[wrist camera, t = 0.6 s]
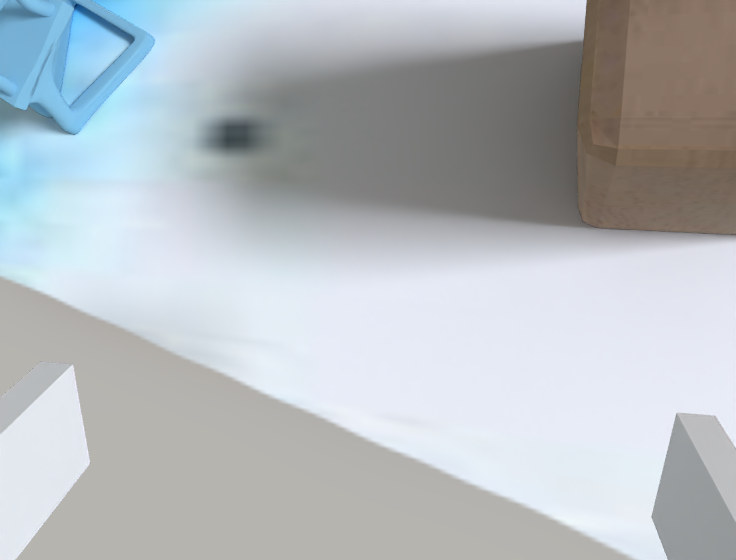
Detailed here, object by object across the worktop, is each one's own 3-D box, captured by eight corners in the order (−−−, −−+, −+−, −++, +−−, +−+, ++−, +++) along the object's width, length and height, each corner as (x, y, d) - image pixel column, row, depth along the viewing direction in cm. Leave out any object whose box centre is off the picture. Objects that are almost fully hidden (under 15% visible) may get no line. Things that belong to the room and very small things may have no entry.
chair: (21, 100, 46) (-162, 38, 35) (73, -11, 45) (-99, -112, 34) (100, 152, 44) (-66, 105, 33) (157, 38, 43) (5, -52, 32)
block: (793, 239, 32) (1105, 167, 13) (576, 228, 35) (573, 157, 16) (810, 31, 32) (1150, -347, 13) (591, 38, 35) (606, -261, 16)
